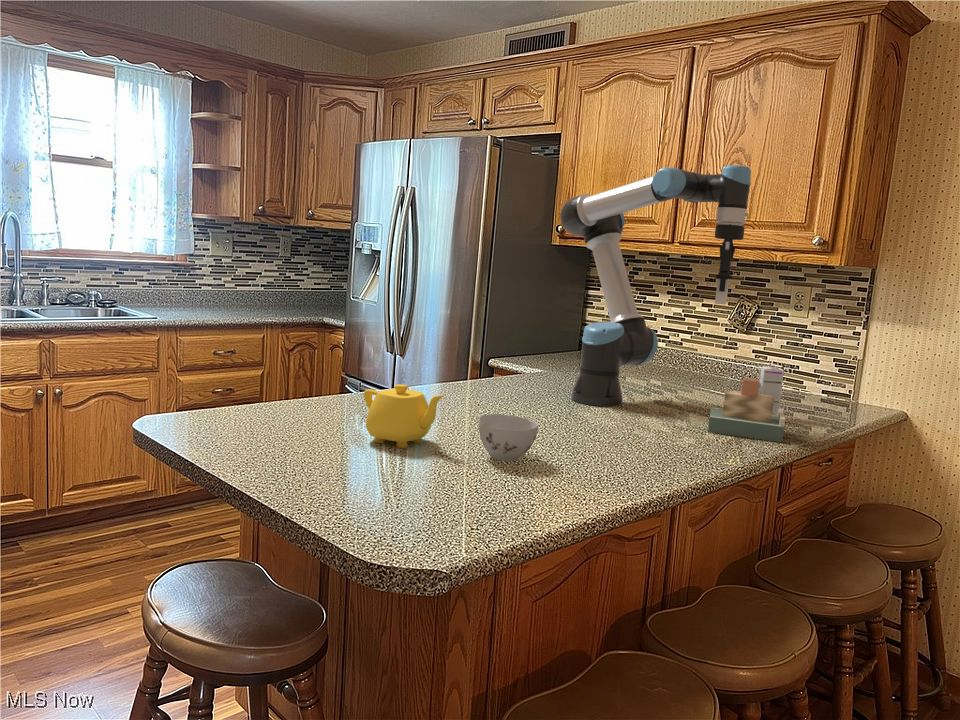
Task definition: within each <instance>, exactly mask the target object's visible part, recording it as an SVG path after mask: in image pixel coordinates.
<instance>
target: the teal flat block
mask: <svg viewBox="0 0 960 720" xmlns="http://www.w3.org/2000/svg"><path fill="white" fill-rule="evenodd" d="M710 409H711V410H710V412H709V413H710V414H709V417H708V418H709V420H708V427H707V428H708V429H707V432H708V433H712V434H713V433H714V434H719V435H725V436H734V437H741V438H746V437H748V439H753V438H754V439H755V440H760V439H761V441H767V440H769V441H770V442H774V441H775V443H782V442H783V438H784V430H785V422H786V418H785V414H784V411H783V409H782V408H780V409H778V415H777V416H773V415H772V419H771V422H764V421H757V420H750V419H742V418H735V417H727V416H723V408H719V407H711V408H710Z"/></svg>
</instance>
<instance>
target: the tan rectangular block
mask: <svg viewBox="0 0 960 720" xmlns="http://www.w3.org/2000/svg"><path fill="white" fill-rule="evenodd" d="M773 405H774V397H773V396H770V395H762V394H758V397H754V396H746V395H741V391H738V390H728V389H725V392H724V401H723V408H722V409H723V416H727V417H735V418H742V419H750V420H757V421H764V422H771V419H772V412H773Z"/></svg>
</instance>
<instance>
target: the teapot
mask: <svg viewBox="0 0 960 720" xmlns="http://www.w3.org/2000/svg"><path fill="white" fill-rule="evenodd" d="M408 387H409V385H407V384H401V383H399V384H394V388H388V389H382V390H380V391H379V390H376V389H371V388H369V389H365V390H364V392H363V398H364V402H365V404H366V406H367V408H368V412H367V416H366V421H365V428H366V431H367V432H368V434H369V435H370V436H372V437H374V438H373V440H372V442H373V443H375V444H382V443H383V444H384V442H385V441H390V442H396V448H399V449H407V448H409V444H408V442H413V443H423V442H424V440H423V438H424V437H425V436H427V434H428V433H429V431H431V427H432V425H433V423H434V422H435V420H436V416H437V406H438V403H439V401H440V400H441V399H442V398H444V397H445V395H444V394H442V395H440V394H439V395H434V396H433V397H431V398H430V400H429V403H428V401H427V398H426V396H425V394H424V392H422V391H418V390H413V389H408ZM373 396H374V398H373Z"/></svg>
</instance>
